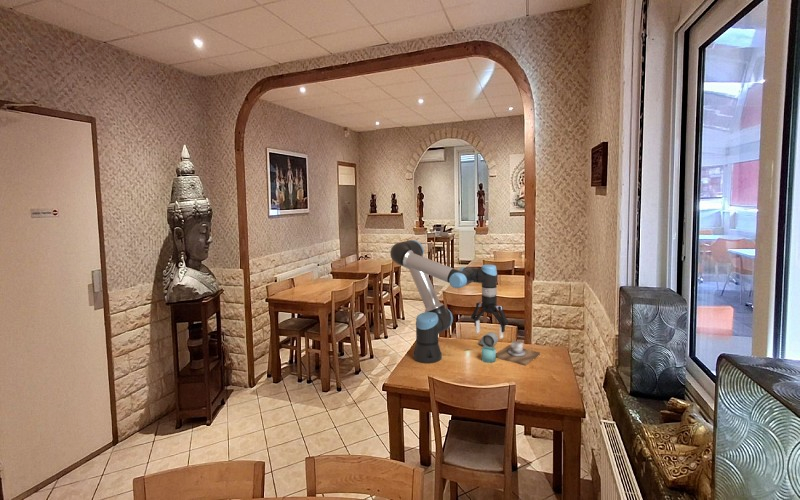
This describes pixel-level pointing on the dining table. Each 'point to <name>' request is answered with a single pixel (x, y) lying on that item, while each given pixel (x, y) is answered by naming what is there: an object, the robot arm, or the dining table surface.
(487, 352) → the turquoise round jar
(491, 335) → the ceramic mug
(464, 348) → the dining table surface
